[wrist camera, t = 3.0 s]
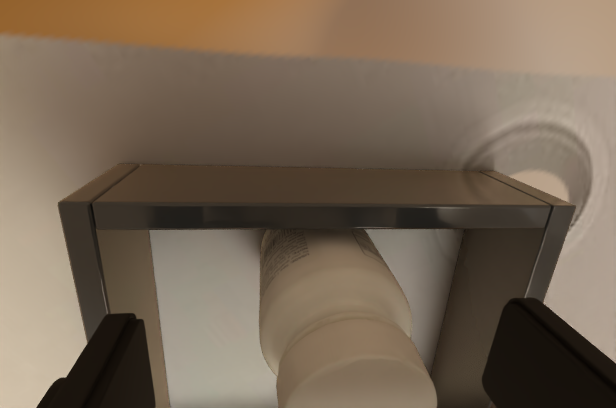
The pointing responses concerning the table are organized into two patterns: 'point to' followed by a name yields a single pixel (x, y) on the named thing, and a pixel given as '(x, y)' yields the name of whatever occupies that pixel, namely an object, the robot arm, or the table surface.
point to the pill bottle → (337, 324)
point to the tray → (320, 215)
